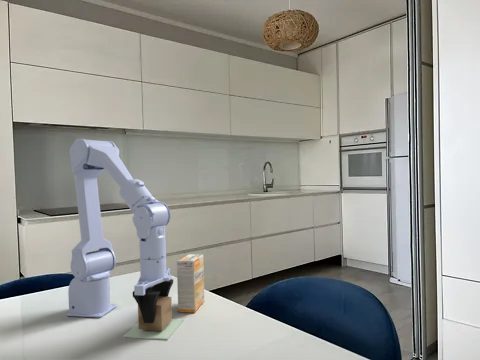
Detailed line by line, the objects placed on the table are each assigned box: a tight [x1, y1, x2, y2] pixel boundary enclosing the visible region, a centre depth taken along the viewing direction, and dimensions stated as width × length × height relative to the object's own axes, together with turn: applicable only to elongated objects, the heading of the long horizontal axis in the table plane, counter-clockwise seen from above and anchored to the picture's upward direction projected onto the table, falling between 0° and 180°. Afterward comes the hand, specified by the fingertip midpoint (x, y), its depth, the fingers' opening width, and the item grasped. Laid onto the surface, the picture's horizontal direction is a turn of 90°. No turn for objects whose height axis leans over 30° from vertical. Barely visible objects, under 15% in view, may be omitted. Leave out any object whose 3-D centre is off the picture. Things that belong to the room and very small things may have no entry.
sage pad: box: [123, 318, 185, 341], centre depth 80 cm, size 10×10×1 cm
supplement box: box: [176, 253, 205, 314], centre depth 93 cm, size 8×5×13 cm, turn 168°
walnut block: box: [137, 296, 173, 331], centre depth 80 cm, size 6×6×6 cm
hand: (154, 317), depth 80 cm, fingers closed on walnut block, 5 cm apart
